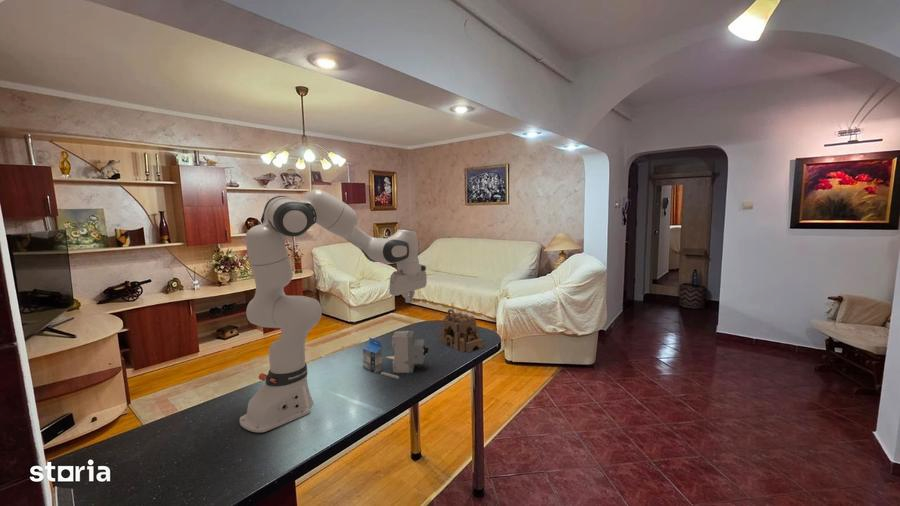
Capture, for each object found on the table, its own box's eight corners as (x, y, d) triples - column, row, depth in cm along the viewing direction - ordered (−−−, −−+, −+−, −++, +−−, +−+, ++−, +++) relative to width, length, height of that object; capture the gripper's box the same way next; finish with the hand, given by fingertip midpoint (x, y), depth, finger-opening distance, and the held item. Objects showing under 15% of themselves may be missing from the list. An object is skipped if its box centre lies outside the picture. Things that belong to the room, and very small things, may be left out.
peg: (397, 379, 139) (397, 377, 139) (380, 374, 144) (380, 372, 144) (399, 378, 140) (399, 375, 140) (382, 373, 145) (382, 370, 145)
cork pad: (400, 361, 157) (400, 360, 157) (383, 357, 162) (383, 356, 162) (410, 356, 162) (410, 355, 162) (393, 352, 168) (393, 351, 168)
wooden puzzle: (486, 346, 173) (485, 309, 171) (463, 354, 164) (462, 314, 162) (457, 335, 190) (456, 301, 188) (435, 342, 181) (434, 306, 179)
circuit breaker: (427, 372, 145) (426, 336, 144) (392, 372, 145) (391, 337, 144) (429, 364, 152) (428, 330, 151) (396, 365, 153) (394, 331, 151)
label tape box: (362, 367, 151) (361, 339, 150) (370, 364, 154) (369, 337, 153) (375, 373, 145) (373, 344, 144) (383, 370, 148) (382, 341, 147)
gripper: (397, 272, 134) (398, 308, 136) (428, 265, 152) (429, 297, 153) (384, 271, 138) (386, 306, 139) (416, 265, 155) (418, 296, 156)
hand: (409, 302), depth 146 cm, fingers closed
